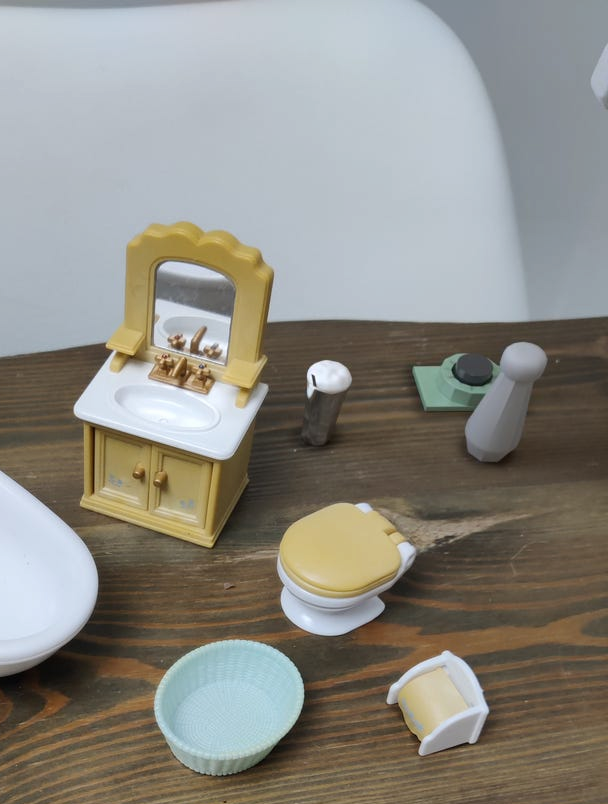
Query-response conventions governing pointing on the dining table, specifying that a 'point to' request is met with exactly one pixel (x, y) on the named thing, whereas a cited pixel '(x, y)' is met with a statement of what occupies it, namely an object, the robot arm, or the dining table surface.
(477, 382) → the button
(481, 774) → the dining table surface
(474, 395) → the green base push button
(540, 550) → the dining table surface
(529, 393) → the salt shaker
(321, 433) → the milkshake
